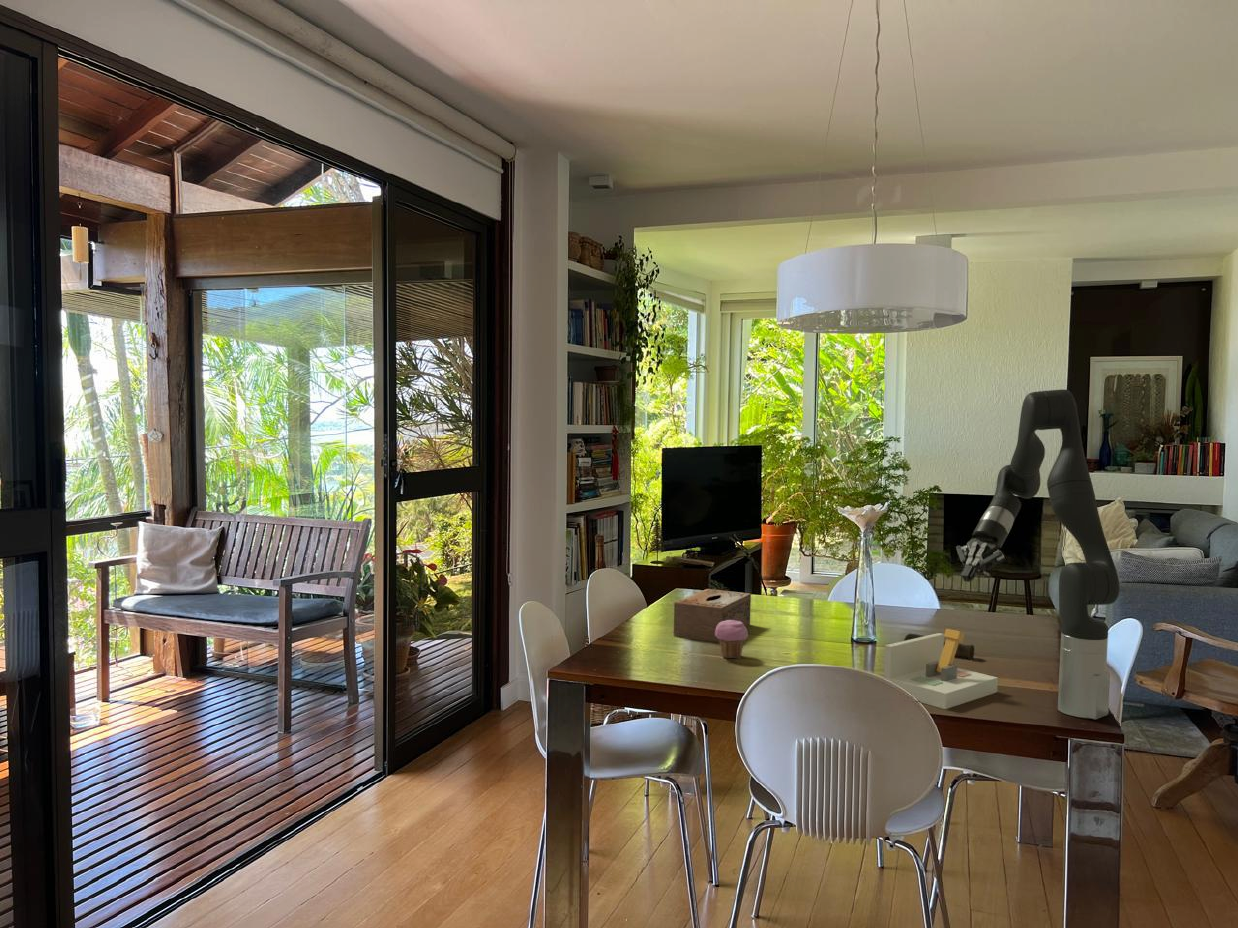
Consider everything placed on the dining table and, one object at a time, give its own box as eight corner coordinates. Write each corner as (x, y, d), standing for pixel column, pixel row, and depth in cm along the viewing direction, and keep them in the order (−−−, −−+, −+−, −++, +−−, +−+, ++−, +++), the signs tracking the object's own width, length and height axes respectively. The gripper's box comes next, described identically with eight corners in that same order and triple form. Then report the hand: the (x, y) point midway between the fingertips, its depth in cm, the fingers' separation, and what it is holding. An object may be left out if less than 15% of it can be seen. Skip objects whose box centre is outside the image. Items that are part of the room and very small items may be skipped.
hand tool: (975, 658, 250) (976, 641, 250) (971, 661, 247) (971, 644, 247) (906, 647, 262) (907, 631, 262) (901, 649, 259) (902, 633, 259)
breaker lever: (938, 673, 220) (951, 631, 223) (951, 676, 217) (964, 634, 220) (933, 669, 219) (946, 628, 221) (946, 673, 216) (960, 631, 218)
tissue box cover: (720, 643, 262) (721, 608, 262) (673, 636, 269) (674, 602, 268) (749, 625, 285) (750, 593, 285) (706, 620, 292) (707, 588, 291)
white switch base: (936, 676, 231) (938, 632, 230) (997, 692, 219) (999, 646, 218) (883, 691, 217) (885, 645, 217) (945, 709, 205) (947, 660, 204)
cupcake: (749, 661, 242) (750, 623, 241) (716, 661, 242) (717, 623, 241) (744, 652, 251) (745, 616, 250) (712, 652, 251) (713, 615, 250)
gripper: (964, 515, 241) (936, 566, 234) (1013, 520, 231) (985, 573, 224) (974, 534, 245) (947, 585, 238) (1023, 540, 234) (995, 593, 227)
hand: (965, 579), depth 231 cm, fingers closed
